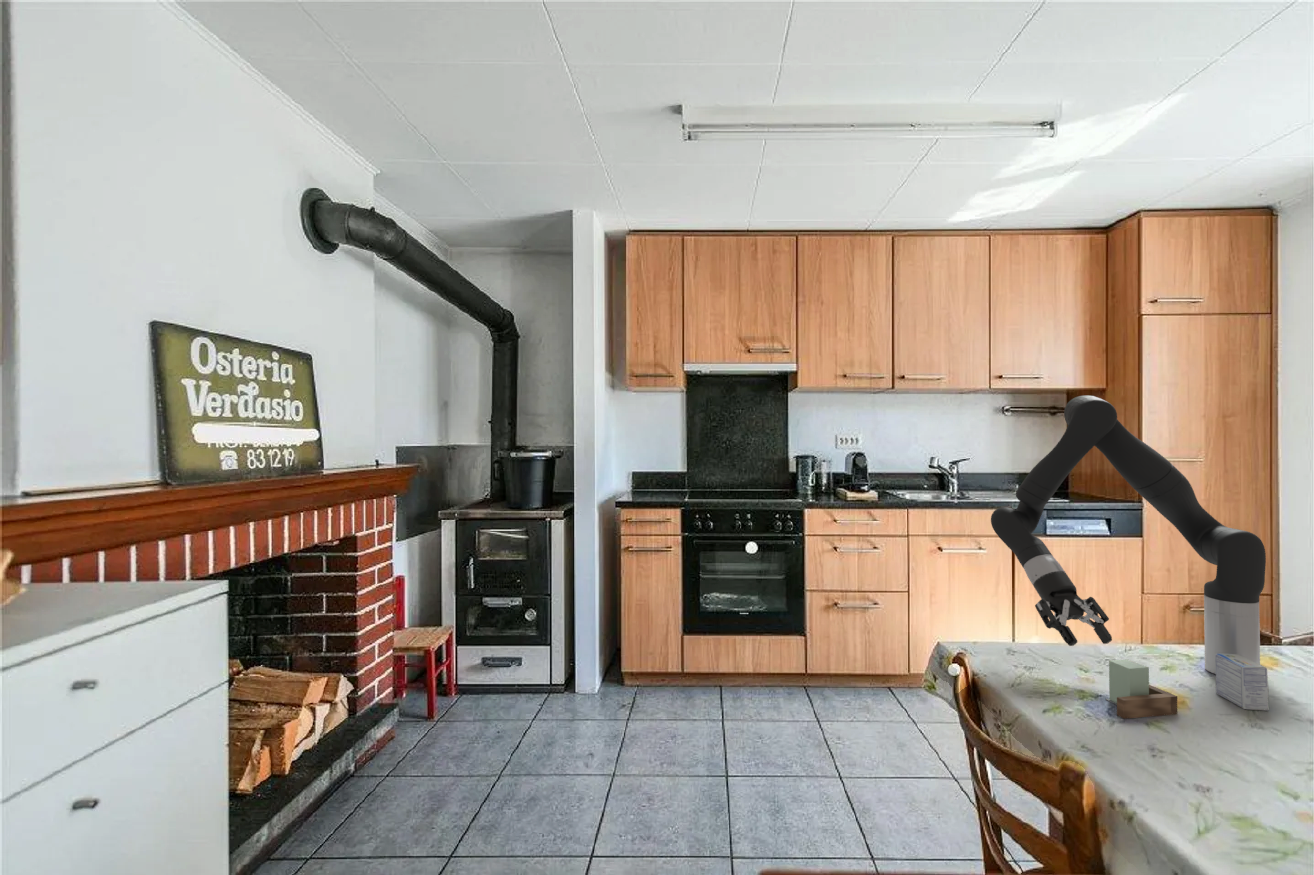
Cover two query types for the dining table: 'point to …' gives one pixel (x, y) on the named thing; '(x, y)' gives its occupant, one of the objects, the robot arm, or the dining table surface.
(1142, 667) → the sage block
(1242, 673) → the medicine box
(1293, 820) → the dining table surface
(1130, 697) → the walnut corner
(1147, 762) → the dining table surface
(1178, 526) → the robot arm
